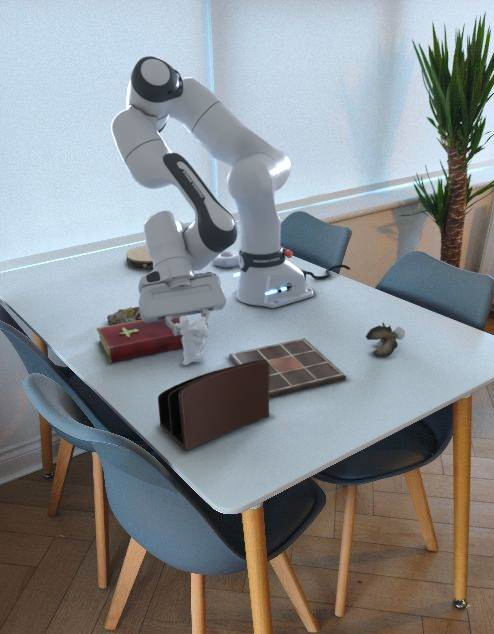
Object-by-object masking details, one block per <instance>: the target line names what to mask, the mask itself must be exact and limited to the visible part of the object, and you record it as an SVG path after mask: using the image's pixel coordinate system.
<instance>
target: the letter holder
mask: <svg viewBox="0 0 494 634" xmlns="http://www.w3.org/2000/svg"><path fill="white" fill-rule="evenodd" d="M157 406H158V415H159V416H158V417H159V427H160V428H161V429H162V430H163V431H164V432H165V433H166V434H167V435H168V436H169V437H170V438H171V439H172V440H173V441H174V442H175V443H176V444H177V445H178V446H179V447H180V448H181V449H183V450H184V451H185V452H186V451H189V450H191V449H194V448H196V447H198V446H201V445H203V444H205V443H207V442H210V441H212V440H215V439H218V438H220V437H223V436H225V435H227V434H230V433H232V432H235V431H237V430H240V429H242V428H245V427H248V426H250V425H252V424H255V423H257V422H260V421H262V420H265V419H267V418H269V417H270V398H269V363H268V362H267V360H265V359H263V360H257V361H252V362H247V363H243V364H240V365H236V366H235V365H232V366H228V367H223V368H221V369H217V370H213V371H210V372H207V373H203V374H201V375H197V376H195V377H192V378H189V379H186V380H185V381H183V382H180V383H177V384H175V385H173V386H171V387H169V388H167V389H166V390H164V391H162V392H161V393H159V395H158V396H157Z"/></svg>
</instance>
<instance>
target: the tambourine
mask: <svg viewBox="0 0 494 634" xmlns="http://www.w3.org/2000/svg"><path fill="white" fill-rule="evenodd" d="M125 256H126V264H127V266H128V267H129V268H131V269H134V270H139V271H154V270H153V260H152V258H151V257H150V255H149V253H148V249H147V245H146V244H145V245H140V246H139V245H138V246H136V247H132V248H130V249H128V250H127V251H126V253H125Z"/></svg>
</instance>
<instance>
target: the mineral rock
mask: <svg viewBox="0 0 494 634" xmlns="http://www.w3.org/2000/svg"><path fill="white" fill-rule="evenodd" d="M106 320H107V323H108V325H117V324H122V323H128V322H133V321H138V320H142V319H141V315H140V310H139V306H135V307H132V306H130V307H128V308H120V309H118V310H117V311H116V312H114V313H112V314H108V315H107V317H106Z"/></svg>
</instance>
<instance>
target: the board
mask: <svg viewBox="0 0 494 634" xmlns="http://www.w3.org/2000/svg"><path fill="white" fill-rule="evenodd" d="M228 355H229V360H230V361H231V362H232V363H233V365H234V366H236V365H240V364H243V363H247V362H252V361H257V360H263V359H265V360H267V362H268V363H269V399H273V398H277V397H282V396H286V395H290V394H294V393H298V392H302V391H306V390H310V389H315V388H318V387H322V386H328V385H331V384H335V383H339V382H343V381H346V379H347V375H346V374H345V373H344V372H343V371H341V369H340V368H338V367H337V366H336V365H335V364H334V363H332V361H330V360H329V359H328V358H327V357H326V356H325V355H323V353H322V352H321V351H319V349H317V348H316V347H315V346H313V344H312V343H310V342H309V341H308V340H307V339H306V338H304V337H303V338H300V339H293V340H290V341H285V342H280V343H275V344H270V345H266V346H261V347H256V348H252V349H247V350H242V351H238V352H233V353H228Z"/></svg>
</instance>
